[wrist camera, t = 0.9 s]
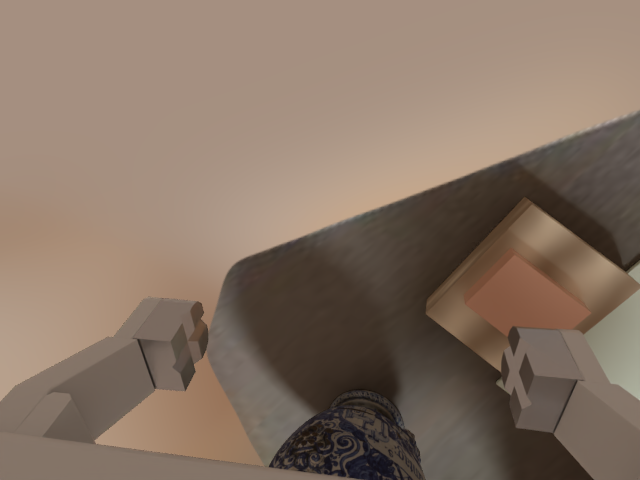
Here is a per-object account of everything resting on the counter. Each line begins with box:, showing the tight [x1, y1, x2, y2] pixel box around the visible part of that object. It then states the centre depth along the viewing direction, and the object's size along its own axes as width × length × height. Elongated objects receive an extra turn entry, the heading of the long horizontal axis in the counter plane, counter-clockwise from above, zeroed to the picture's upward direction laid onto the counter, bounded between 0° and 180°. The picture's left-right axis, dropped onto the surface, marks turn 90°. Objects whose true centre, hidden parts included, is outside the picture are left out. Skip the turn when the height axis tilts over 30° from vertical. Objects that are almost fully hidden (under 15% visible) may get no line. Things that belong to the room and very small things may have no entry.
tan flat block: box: [426, 197, 640, 372], centre depth 45 cm, size 13×16×4 cm
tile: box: [464, 248, 591, 337], centre depth 42 cm, size 9×7×2 cm
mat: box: [496, 260, 640, 400], centre depth 46 cm, size 20×22×1 cm
